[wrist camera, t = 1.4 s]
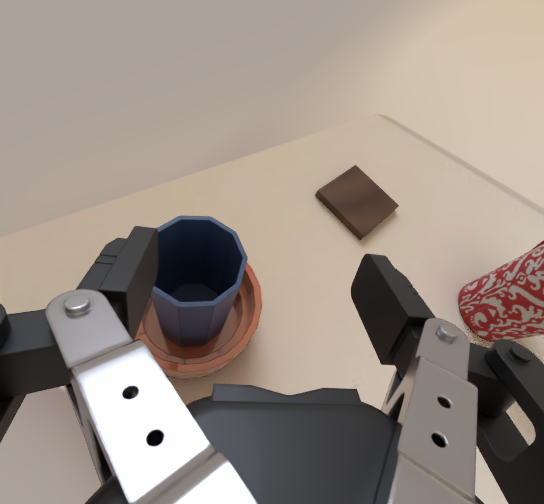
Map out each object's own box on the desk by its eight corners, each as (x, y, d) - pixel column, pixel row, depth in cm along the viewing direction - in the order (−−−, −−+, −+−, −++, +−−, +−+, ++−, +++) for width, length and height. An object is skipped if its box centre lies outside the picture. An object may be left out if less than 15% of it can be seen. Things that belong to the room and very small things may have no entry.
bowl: (102, 306, 28) (87, 286, 24) (204, 242, 33) (206, 216, 29) (178, 408, 26) (176, 407, 22) (274, 323, 31) (287, 308, 27)
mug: (507, 368, 35) (666, 345, 24) (440, 315, 36) (560, 268, 25) (529, 290, 41) (664, 241, 30) (471, 246, 42) (579, 183, 31)
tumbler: (143, 309, 28) (118, 249, 18) (200, 271, 31) (207, 200, 21) (184, 362, 27) (182, 330, 17) (239, 317, 30) (266, 266, 20)
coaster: (315, 195, 40) (317, 190, 39) (352, 169, 44) (355, 164, 43) (360, 240, 38) (364, 236, 38) (394, 209, 42) (399, 205, 41)
